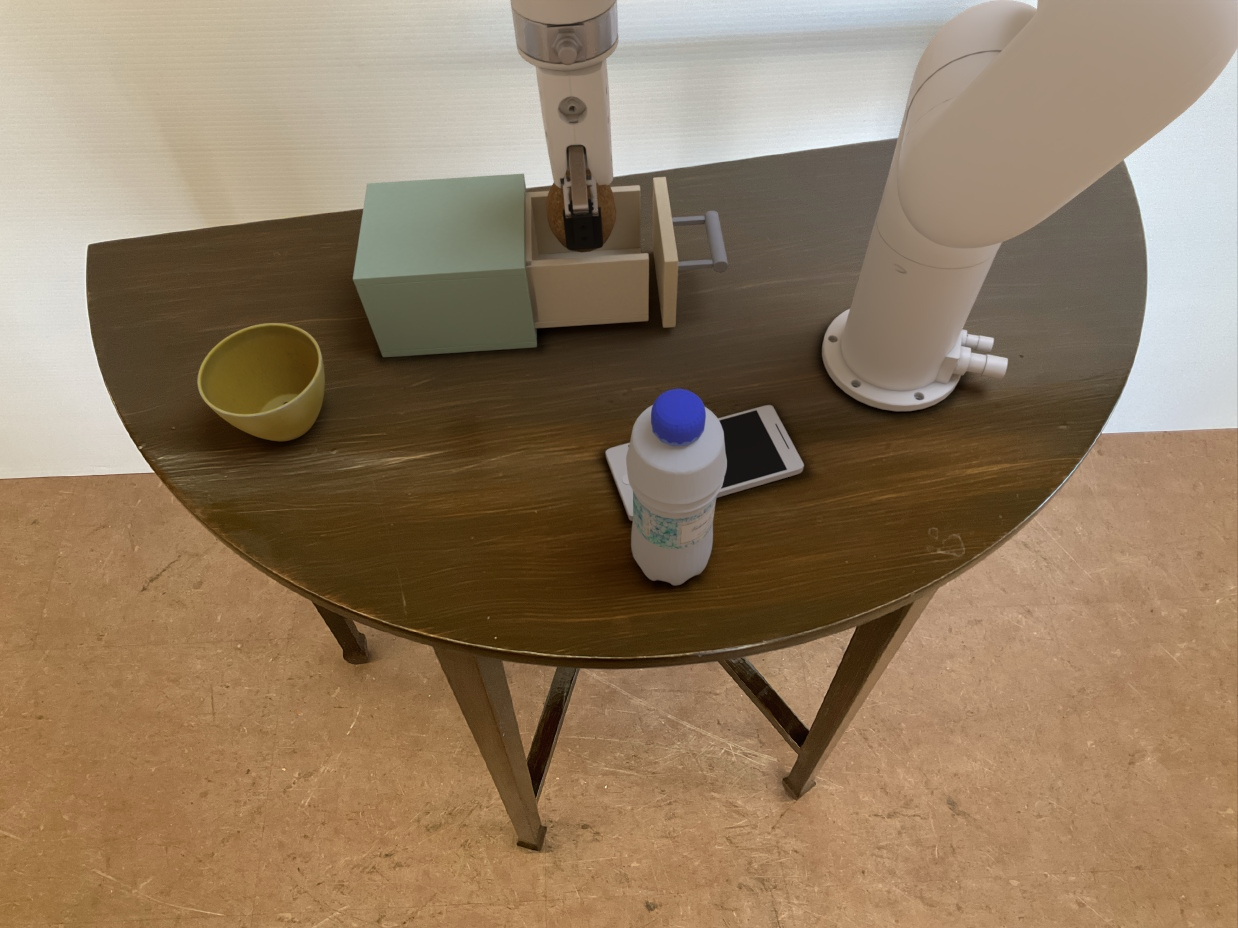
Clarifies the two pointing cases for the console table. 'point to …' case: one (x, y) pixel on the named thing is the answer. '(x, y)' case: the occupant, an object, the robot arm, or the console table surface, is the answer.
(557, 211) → the fruit
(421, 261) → the cabinet
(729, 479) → the smartphone
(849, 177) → the console table surface
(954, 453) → the console table surface
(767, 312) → the console table surface
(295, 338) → the flower pot
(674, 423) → the bottle
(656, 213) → the drawer
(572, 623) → the console table surface
